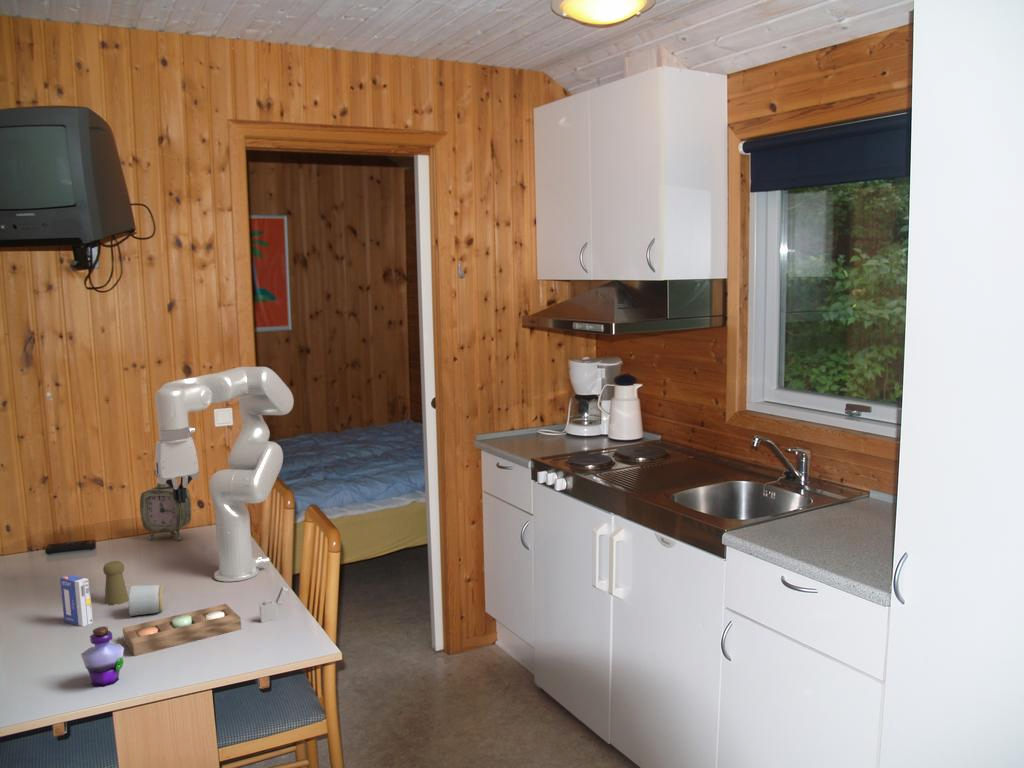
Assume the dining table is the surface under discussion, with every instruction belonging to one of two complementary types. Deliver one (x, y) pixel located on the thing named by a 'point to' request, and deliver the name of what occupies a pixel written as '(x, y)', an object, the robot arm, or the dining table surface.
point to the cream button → (214, 615)
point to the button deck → (181, 630)
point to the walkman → (76, 600)
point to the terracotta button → (147, 631)
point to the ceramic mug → (146, 599)
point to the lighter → (271, 607)
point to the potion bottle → (103, 658)
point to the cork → (115, 583)
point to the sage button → (181, 621)
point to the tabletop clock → (164, 510)
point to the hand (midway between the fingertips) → (180, 502)
